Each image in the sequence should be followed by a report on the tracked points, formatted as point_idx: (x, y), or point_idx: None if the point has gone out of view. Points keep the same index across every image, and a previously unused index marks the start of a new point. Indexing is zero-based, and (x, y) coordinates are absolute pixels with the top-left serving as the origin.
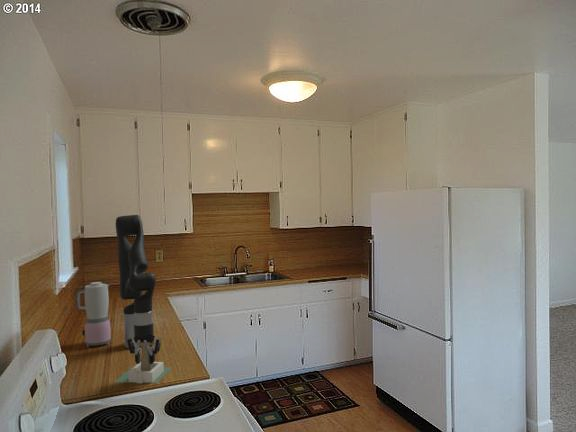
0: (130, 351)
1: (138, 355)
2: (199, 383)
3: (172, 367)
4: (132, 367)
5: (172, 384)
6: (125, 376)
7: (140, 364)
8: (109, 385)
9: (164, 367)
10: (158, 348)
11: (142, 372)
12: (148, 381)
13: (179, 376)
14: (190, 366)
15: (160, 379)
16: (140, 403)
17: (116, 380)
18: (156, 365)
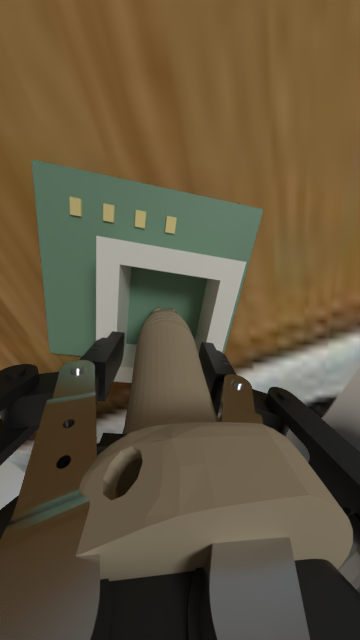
0: (10, 429)
1: (107, 385)
2: (348, 355)
3: (262, 210)
4: (38, 179)
5: (266, 357)
6: (68, 303)
7: (115, 288)
8: (43, 353)
9: (222, 206)
10: (305, 424)
11: None
12: None
13: (288, 295)
14: (341, 175)
15: (226, 341)
16: None
17: (52, 340)
18: (214, 311)
